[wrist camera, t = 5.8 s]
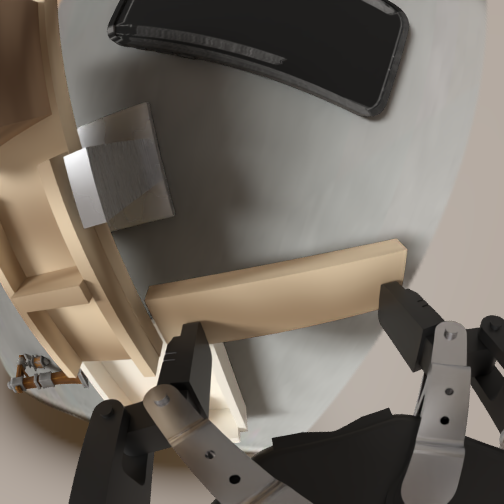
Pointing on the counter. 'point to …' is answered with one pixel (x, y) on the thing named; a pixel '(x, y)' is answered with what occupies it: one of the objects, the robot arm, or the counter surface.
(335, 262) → the lever
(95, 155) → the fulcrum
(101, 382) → the tray
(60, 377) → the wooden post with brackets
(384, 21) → the phone
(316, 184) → the counter surface
